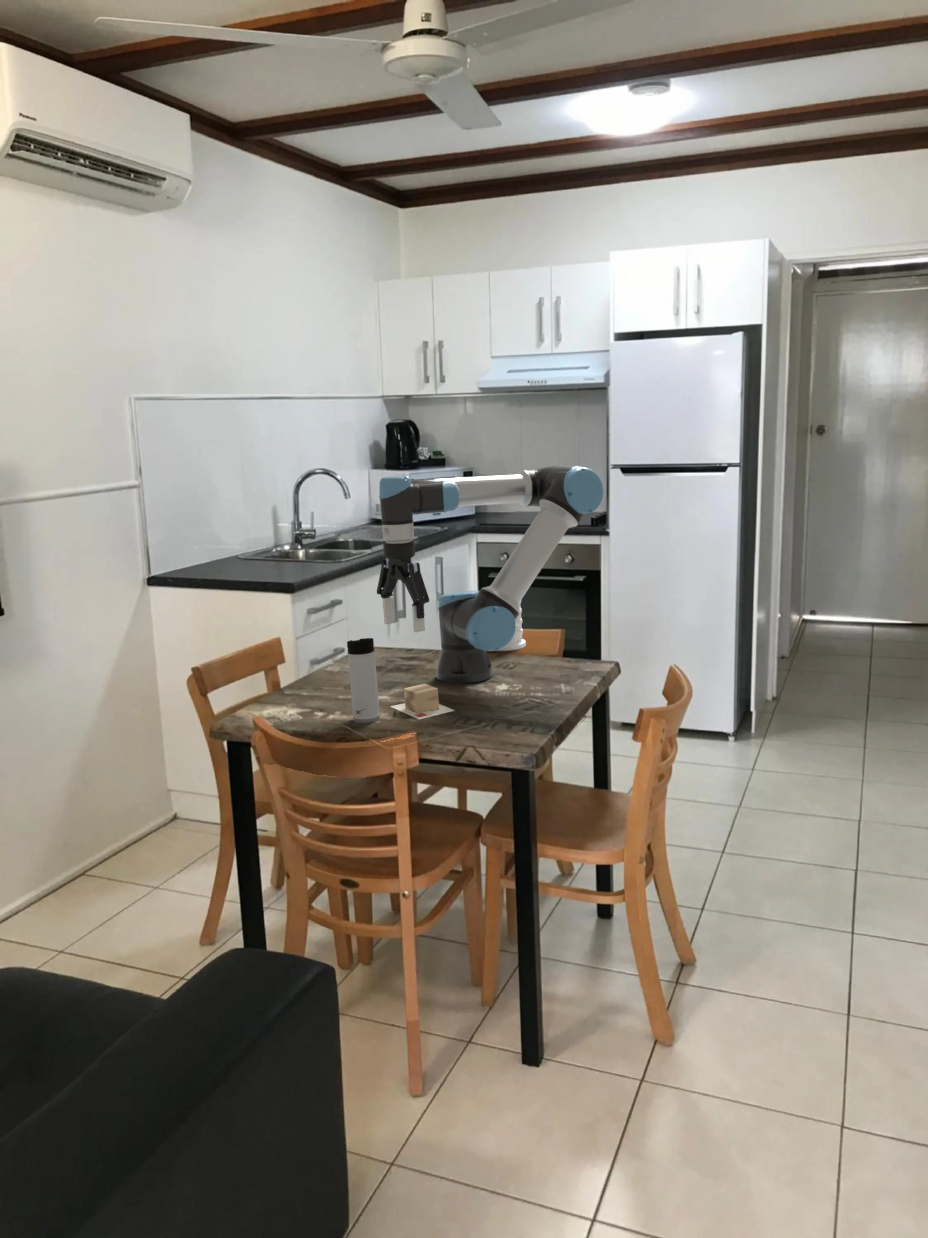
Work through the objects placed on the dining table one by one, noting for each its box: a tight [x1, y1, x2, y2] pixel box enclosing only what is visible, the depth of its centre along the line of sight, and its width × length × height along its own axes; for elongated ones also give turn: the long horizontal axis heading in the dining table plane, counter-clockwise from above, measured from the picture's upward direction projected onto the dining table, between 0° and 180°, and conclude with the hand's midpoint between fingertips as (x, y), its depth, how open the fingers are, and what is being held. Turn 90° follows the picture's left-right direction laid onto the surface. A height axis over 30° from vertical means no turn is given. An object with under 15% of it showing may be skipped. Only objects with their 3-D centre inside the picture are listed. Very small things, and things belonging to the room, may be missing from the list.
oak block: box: [403, 683, 440, 714], centre depth 241 cm, size 6×6×5 cm
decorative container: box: [487, 585, 527, 652], centre depth 298 cm, size 12×12×18 cm
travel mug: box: [346, 637, 381, 724], centre depth 234 cm, size 6×7×20 cm
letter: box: [390, 702, 456, 720], centre depth 241 cm, size 14×10×1 cm
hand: (404, 627), depth 244 cm, fingers open, 13 cm apart
